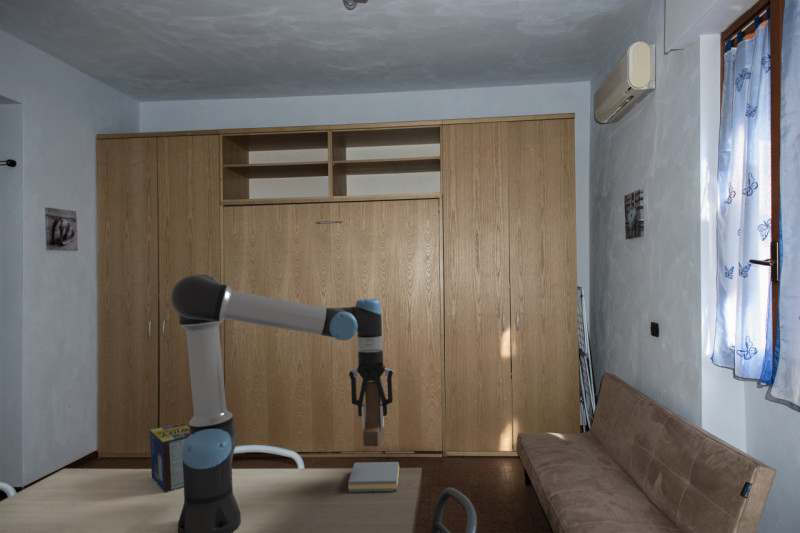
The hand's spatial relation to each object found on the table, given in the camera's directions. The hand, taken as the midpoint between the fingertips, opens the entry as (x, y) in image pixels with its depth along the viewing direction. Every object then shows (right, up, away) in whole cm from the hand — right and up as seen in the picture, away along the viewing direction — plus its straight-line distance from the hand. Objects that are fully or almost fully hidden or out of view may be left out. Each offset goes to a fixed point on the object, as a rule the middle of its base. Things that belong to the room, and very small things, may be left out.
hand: (373, 426), depth 154 cm
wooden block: (0, -5, 0) cm, 5 cm away
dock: (0, -17, 0) cm, 17 cm away
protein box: (-63, -19, +6) cm, 66 cm away
